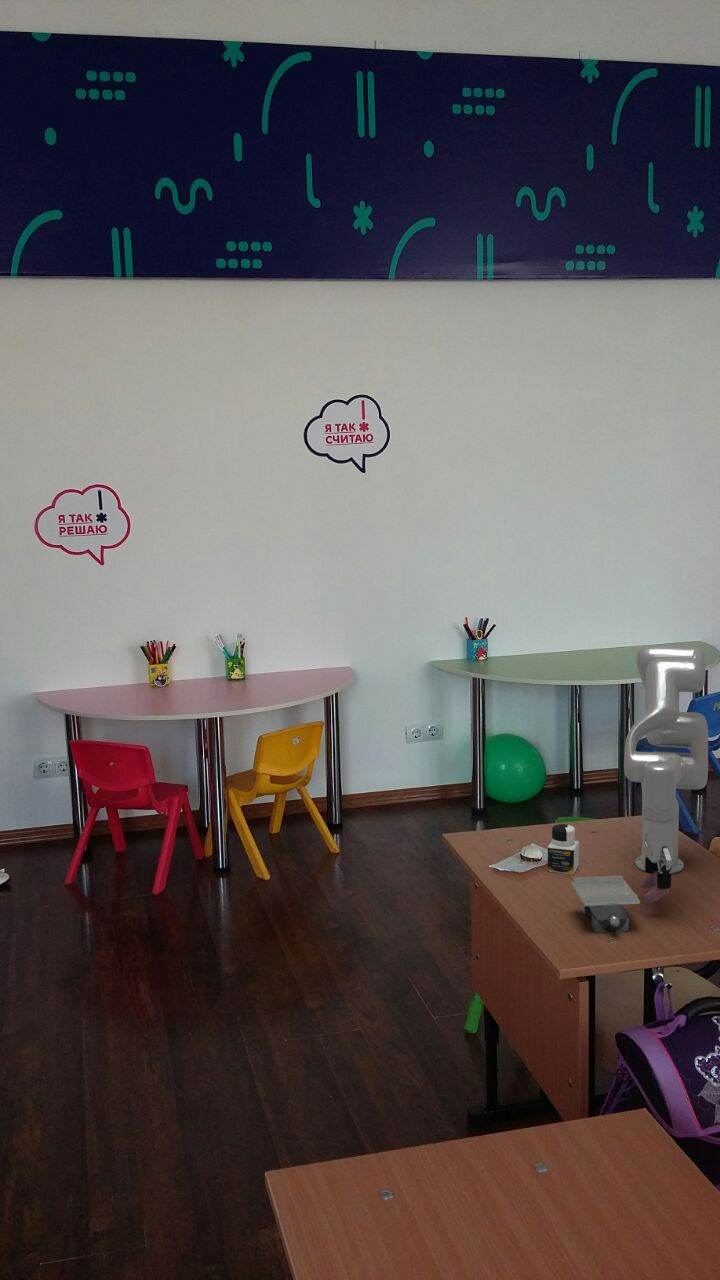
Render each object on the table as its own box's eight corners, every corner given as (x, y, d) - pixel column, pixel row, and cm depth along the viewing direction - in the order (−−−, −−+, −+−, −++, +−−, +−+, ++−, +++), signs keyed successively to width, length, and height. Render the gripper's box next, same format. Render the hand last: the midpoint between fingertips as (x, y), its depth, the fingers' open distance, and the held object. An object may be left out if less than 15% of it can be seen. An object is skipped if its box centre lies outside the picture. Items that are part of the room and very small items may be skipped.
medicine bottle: (547, 871, 298) (547, 828, 296) (553, 862, 304) (553, 820, 303) (573, 874, 295) (574, 831, 293) (579, 865, 302) (579, 823, 300)
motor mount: (571, 910, 271) (571, 877, 270) (623, 908, 272) (624, 875, 271) (587, 938, 256) (587, 902, 254) (643, 935, 256) (643, 900, 255)
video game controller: (658, 911, 266) (673, 887, 264) (641, 901, 266) (656, 878, 264) (656, 893, 276) (670, 870, 274) (639, 884, 276) (653, 861, 274)
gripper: (633, 801, 275) (632, 867, 278) (654, 826, 258) (653, 895, 261) (663, 800, 275) (661, 865, 278) (686, 824, 258) (684, 894, 261)
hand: (657, 880), depth 270 cm, fingers closed on video game controller, 9 cm apart
